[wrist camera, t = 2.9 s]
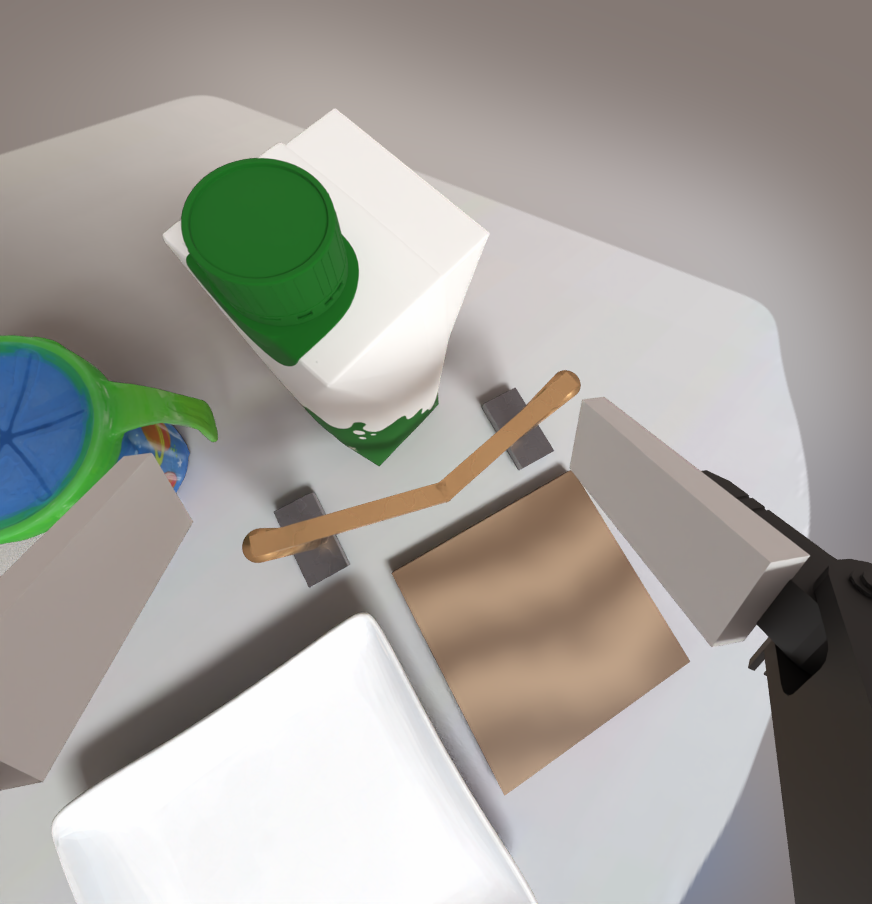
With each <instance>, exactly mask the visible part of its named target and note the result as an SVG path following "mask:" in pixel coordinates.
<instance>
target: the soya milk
mask: <svg viewBox="0 0 872 904" xmlns="http://www.w3.org/2000/svg"><path fill="white" fill-rule="evenodd" d="M488 236H489V232H488V231H487V230H485V229H484V228H483V227H482V226H480V225H479V224H478V223H477V222H476V221H474V220H473V219H472V218H471V217H469V216H468V215H467V214H466V213H464V212H463V211H462V210H461V209H459V208H458V207H457V206H456V205H454V204H453V203H452V202H451V201H450V200H448V199H447V198H446V197H445V196H443V195H442V194H441V193H440V192H438V191H437V190H436V189H435V188H433V187H432V186H431V185H430V184H429V183H427V182H426V181H425V180H424V179H422V178H421V177H420V176H419V175H417V174H416V173H415V172H414V171H412V170H411V169H410V168H409V167H407V166H406V165H405V164H404V163H403V162H401V161H400V160H399V159H398V158H396V157H395V156H394V155H393V154H391V153H390V152H389V151H388V150H386V149H385V148H384V147H383V146H381V145H380V144H379V143H378V142H377V141H375V140H374V139H373V138H372V137H370V136H369V135H368V134H367V133H365V132H364V131H363V130H362V129H360V128H359V127H358V126H357V125H356V124H354V123H353V122H352V121H350V120H349V119H348V118H347V117H346V116H344V115H343V114H342V113H341V112H339V111H338V110H337V109H335V108H334V109H333V110H331V111H330V112H329V113H327V114H326V115H324V116H323V117H322V118H320V119H319V120H318V121H316V122H315V123H314V124H312V125H311V126H310V127H308V128H307V129H306V130H304V131H303V132H302V133H300V134H299V135H298V136H296V137H295V138H294V139H292V140H291V141H290V142H288V143H287V144H286V145H284V144H283V143H281V142H280V143H277V144H275V145H274V146H273V147H271V148H270V149H268V150H267V151H266V152H264V153H263V154H262V155H261V156H259V157H258V158H250V159H243V160H239V161H235V162H231V163H228V164H226V165H223V166H221V167H219V168H217V169H216V170H214V171H212V172H211V173H209V174H208V175H206V176H205V177H204V178H203V179H202V180H201V181H199V183H198V184H197V185H196V186H195V187H194V188H193V189H192V191H191V192H190V194H189V196H188V198H187V200H186V202H185V204H184V207H183V211H182V216H181V220H179V221H178V222H177V223H175V224H174V225H173V226H172V227H170V228H169V229H168V230H167V231H165V232H164V233H163V240H164V242H165V243H166V244H167V245H168V246H169V248H170V249H171V250H172V251H173V252H174V254H175V255H176V256H177V257H178V258H179V260H180V261H181V262H182V263H183V265H184V266H185V267H186V268H187V269H188V271H189V272H190V273H191V274H192V275H193V277H194V278H195V279H196V280H197V281H198V283H199V284H200V285H201V286H202V288H203V289H204V290H205V291H206V292H207V294H208V295H209V296H210V297H211V298H212V300H213V301H214V302H215V303H216V305H217V306H218V307H219V308H220V310H221V311H222V312H223V313H224V314H225V316H226V317H227V318H228V319H229V321H230V322H231V323H232V324H233V325H234V327H235V328H236V329H237V330H238V332H239V333H240V334H241V335H242V337H243V338H244V339H245V340H246V341H247V343H248V344H249V345H250V346H251V348H252V349H253V350H254V351H255V352H256V354H257V355H258V356H259V357H260V358H261V359H262V360H263V362H264V363H265V364H266V365H267V366H268V368H269V369H270V370H271V371H272V372H273V373H274V375H275V376H276V377H277V378H278V379H279V380H280V381H281V382H282V384H283V385H284V386H285V387H286V388H287V389H288V390H289V391H290V392H291V394H292V395H293V396H294V397H295V398H296V399H297V400H298V401H299V403H300V404H301V405H302V406H303V407H304V408H305V409H306V410H307V411H308V413H309V414H310V415H311V416H312V417H313V418H314V419H315V420H316V421H317V422H318V423H319V424H320V425H321V426H322V427H324V428H325V429H326V430H327V431H328V432H330V433H331V434H332V435H334V436H335V437H336V438H337V439H338V440H339V441H341V442H342V443H343V444H345V445H346V446H347V447H349V448H351V449H352V450H354V451H355V452H357V453H359V454H360V455H362V456H363V457H365V458H367V459H368V460H370V461H372V462H373V463H375V464H376V465H378V466H380V465H381V464H382V463H383V462H384V461H385V460H386V459H387V458H388V457H389V456H390V455H391V454H392V453H393V452H394V450H395V449H396V448H397V447H398V446H399V445H400V444H401V443H402V442H403V441H404V440H405V439H406V438H407V437H408V436H409V435H410V434H411V433H412V432H413V431H414V430H415V429H416V428H417V427H418V426H419V425H420V424H421V423H422V422H423V421H424V419H425V418H426V417H427V416H428V415H429V414H430V413H431V412H432V411H433V410H434V408H435V407H436V406H437V405H438V389H439V384H440V379H441V374H442V370H443V365H444V360H445V355H446V350H447V345H448V341H449V337H450V334H451V331H452V329H453V326H454V323H455V321H456V318H457V315H458V313H459V310H460V308H461V305H462V302H463V300H464V297H465V294H466V292H467V289H468V287H469V284H470V281H471V279H472V276H473V274H474V271H475V269H476V266H477V263H478V261H479V258H480V256H481V253H482V251H483V248H484V246H485V243H486V241H487V238H488Z"/></svg>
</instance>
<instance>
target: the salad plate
mask: <svg viewBox="0 0 872 904" xmlns="http://www.w3.org/2000/svg"><path fill="white" fill-rule="evenodd" d="M51 831H52V838H53V841H54V845H55V848H56V851H57V854H58V857H59V859H60V862H61V865H62V868H63V871H64V874H65V876H66V879H67V881H68V884H69V886H70V889H71V891H72V894H73V896H74V899H75V901H76V904H538V902H537V900H536V898H535V896H534V894H533V892H532V890H531V888H530V886H529V885H528V883H527V881H526V880H525V878H524V876H523V874H522V873H521V871H520V869H519V868H518V866H517V864H516V863H515V861H514V860H513V858H512V857H511V855H510V853H509V852H508V850H507V849H506V847H505V846H504V844H503V843H502V841H501V839H500V838H499V836H498V835H497V833H496V832H495V830H494V828H493V827H492V825H491V824H490V822H489V821H488V819H487V818H486V816H485V814H484V813H483V811H482V810H481V808H480V806H479V805H478V803H477V801H476V800H475V798H474V796H473V795H472V793H471V792H470V790H469V788H468V787H467V785H466V783H465V782H464V780H463V778H462V776H461V775H460V773H459V771H458V770H457V768H456V766H455V764H454V763H453V761H452V759H451V758H450V756H449V754H448V752H447V751H446V749H445V747H444V745H443V743H442V742H441V740H440V738H439V736H438V734H437V733H436V731H435V729H434V727H433V725H432V723H431V721H430V719H429V717H428V716H427V714H426V712H425V710H424V708H423V706H422V704H421V702H420V701H419V699H418V697H417V695H416V693H415V691H414V689H413V687H412V685H411V683H410V681H409V679H408V677H407V675H406V674H405V672H404V670H403V668H402V666H401V664H400V662H399V660H398V658H397V656H396V654H395V652H394V650H393V648H392V647H391V645H390V643H389V641H388V639H387V637H386V636H385V634H384V632H383V631H382V629H381V627H380V626H379V624H378V623H377V621H376V620H375V619H374V617H373V616H372V615H370V614H369V613H367V612H361V613H357V614H355V615H353V616H351V617H349V618H348V619H346V620H344V621H343V622H341V623H340V624H338V625H337V626H335V627H334V628H332V629H331V630H329V631H328V632H327V633H325V634H324V635H322V636H321V637H320V638H318V639H317V640H315V641H314V642H313V643H311V644H310V645H309V646H307V647H306V648H304V649H303V650H302V651H300V652H299V653H297V654H296V655H295V656H293V657H292V658H290V659H289V660H288V661H286V662H285V663H284V664H282V665H281V666H279V667H278V668H276V669H275V670H274V671H272V672H271V673H269V674H268V675H267V676H265V677H264V678H262V679H261V680H259V681H258V682H257V683H255V684H254V685H252V686H251V687H249V688H248V689H246V690H245V691H243V692H242V693H241V694H239V695H238V696H236V697H235V698H233V699H232V700H230V701H229V702H227V703H226V704H224V705H223V706H221V707H220V708H218V709H217V710H215V711H214V712H212V713H211V714H209V715H208V716H206V717H205V718H203V719H201V720H200V721H198V722H197V723H195V724H194V725H192V726H191V727H189V728H188V729H186V730H184V731H183V732H181V733H180V734H178V735H177V736H175V737H173V738H172V739H170V740H168V741H167V742H165V743H163V744H162V745H160V746H159V747H157V748H155V749H154V750H152V751H150V752H148V753H147V754H145V755H143V756H142V757H140V758H138V759H137V760H135V761H133V762H132V763H130V764H128V765H126V766H125V767H123V768H121V769H120V770H118V771H116V772H115V773H113V774H111V775H110V776H108V777H107V778H105V779H103V780H102V781H100V782H99V783H97V784H96V785H94V786H93V787H91V788H90V789H88V790H87V791H85V792H84V793H82V794H81V795H79V796H78V797H77V798H75V799H74V800H72V801H71V802H70V803H69V804H67V805H66V806H65V807H64V808H63V809H62V810H61V811H60V812H59V813H58V814H57V815H56V816H55V818H54V820H53V822H52V828H51Z"/></svg>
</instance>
